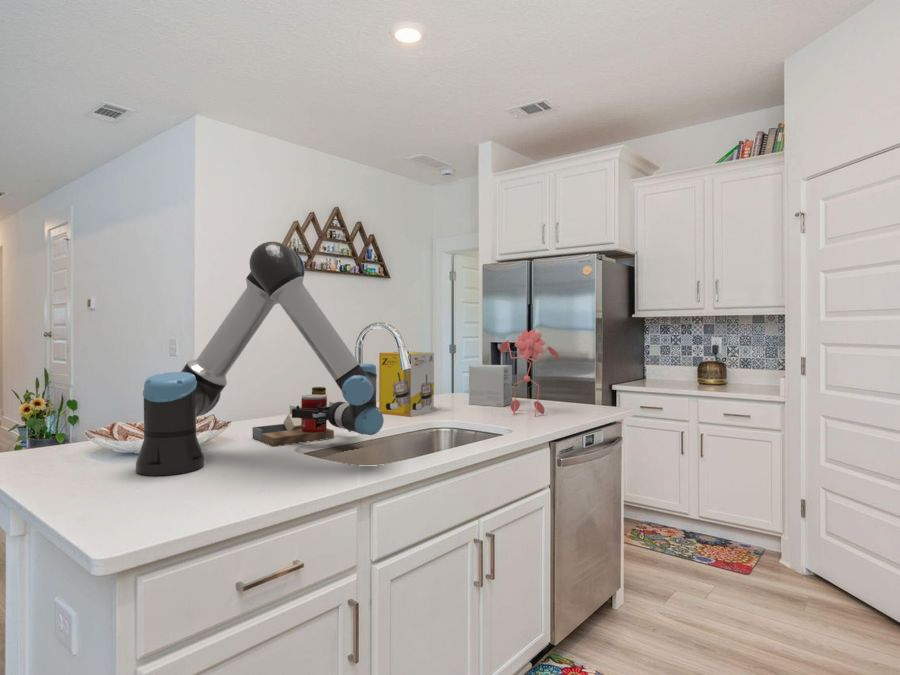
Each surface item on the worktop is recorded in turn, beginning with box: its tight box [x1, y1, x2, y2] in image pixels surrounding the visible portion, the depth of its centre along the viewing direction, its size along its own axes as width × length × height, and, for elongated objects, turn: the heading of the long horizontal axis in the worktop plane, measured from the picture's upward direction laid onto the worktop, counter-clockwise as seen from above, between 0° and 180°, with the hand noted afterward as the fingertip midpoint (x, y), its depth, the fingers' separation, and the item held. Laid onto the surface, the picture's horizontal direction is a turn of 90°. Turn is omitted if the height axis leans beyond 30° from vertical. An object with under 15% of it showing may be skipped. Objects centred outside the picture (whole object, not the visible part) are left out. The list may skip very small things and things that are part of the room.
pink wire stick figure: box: [499, 329, 560, 418], centre depth 232 cm, size 15×26×35 cm, turn 64°
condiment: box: [310, 386, 328, 397], centre depth 217 cm, size 7×8×12 cm
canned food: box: [300, 394, 328, 432], centre depth 178 cm, size 8×8×11 cm
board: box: [260, 427, 335, 447], centre depth 175 cm, size 20×9×2 cm, turn 130°
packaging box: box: [378, 351, 435, 418], centre depth 233 cm, size 16×16×25 cm
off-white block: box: [282, 413, 301, 430], centre depth 183 cm, size 4×4×5 cm
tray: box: [252, 423, 287, 442], centre depth 181 cm, size 20×7×4 cm, turn 130°
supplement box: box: [468, 364, 513, 407], centre depth 261 cm, size 17×13×18 cm
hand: (310, 407), depth 180 cm, fingers open, 13 cm apart
